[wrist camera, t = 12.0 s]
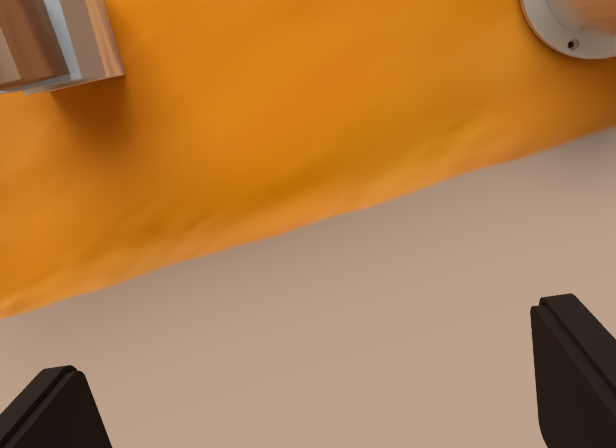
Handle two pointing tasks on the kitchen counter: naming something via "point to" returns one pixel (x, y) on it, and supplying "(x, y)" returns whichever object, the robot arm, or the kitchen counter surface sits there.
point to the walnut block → (28, 45)
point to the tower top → (72, 43)
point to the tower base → (105, 46)
